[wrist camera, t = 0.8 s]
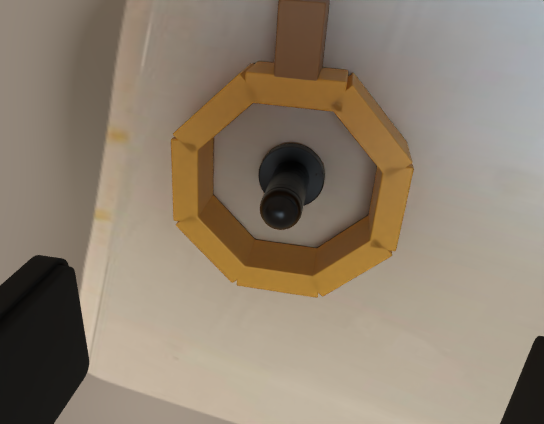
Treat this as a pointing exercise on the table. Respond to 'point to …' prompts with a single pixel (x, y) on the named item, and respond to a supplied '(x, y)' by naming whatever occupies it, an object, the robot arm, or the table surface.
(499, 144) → the table surface
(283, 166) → the peg stand
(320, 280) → the ring
